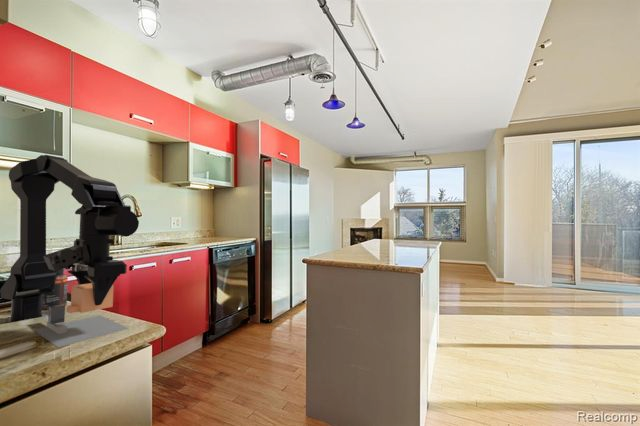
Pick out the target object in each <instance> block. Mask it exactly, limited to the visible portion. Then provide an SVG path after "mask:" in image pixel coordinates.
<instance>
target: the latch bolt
mask: <svg viewBox="0 0 640 426" xmlns="http://www.w3.org/2000/svg"><path fill="white" fill-rule="evenodd" d="M65 315H66V306H65V305H63V304H62V305H56V306H50V307H49V310H43V311H42V317H41V318H43V319H44V320H46V321H48V323H49V324H55V325H61V324H64V323H65V320H66V319H65V318H66V317H65Z"/></svg>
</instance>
